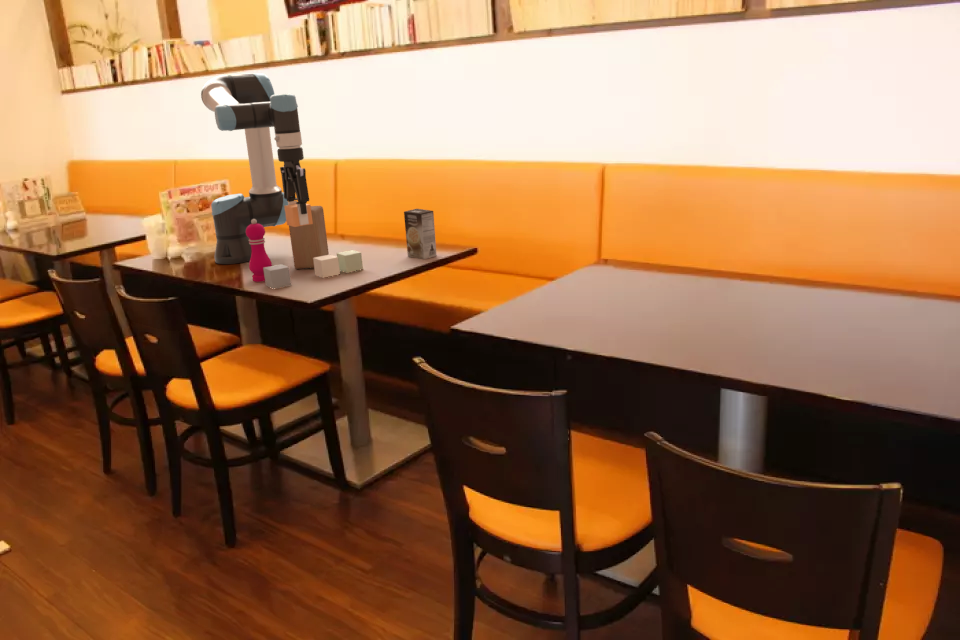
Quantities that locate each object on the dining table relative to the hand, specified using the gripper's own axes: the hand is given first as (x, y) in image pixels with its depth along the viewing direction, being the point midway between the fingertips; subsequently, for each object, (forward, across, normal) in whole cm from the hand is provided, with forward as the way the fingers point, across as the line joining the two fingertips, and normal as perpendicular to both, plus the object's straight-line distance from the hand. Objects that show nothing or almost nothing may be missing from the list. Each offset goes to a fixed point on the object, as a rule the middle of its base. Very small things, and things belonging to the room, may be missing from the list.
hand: (299, 223), depth 239 cm
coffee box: (+19, -1, +44) cm, 48 cm away
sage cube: (+19, -3, +17) cm, 26 cm away
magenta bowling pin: (+19, -15, -9) cm, 26 cm away
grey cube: (+19, -3, -8) cm, 21 cm away
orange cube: (0, 0, 0) cm, 0 cm away
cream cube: (+19, -3, +8) cm, 21 cm away
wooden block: (+19, -20, +11) cm, 30 cm away
